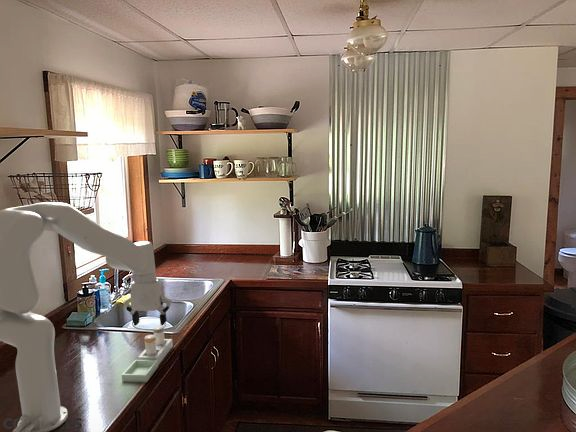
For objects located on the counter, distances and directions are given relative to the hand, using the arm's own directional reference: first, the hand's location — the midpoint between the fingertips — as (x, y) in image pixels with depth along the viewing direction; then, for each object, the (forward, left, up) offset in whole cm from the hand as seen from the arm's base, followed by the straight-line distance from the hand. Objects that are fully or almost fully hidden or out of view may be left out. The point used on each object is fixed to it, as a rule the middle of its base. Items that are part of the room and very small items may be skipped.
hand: (150, 323), depth 163 cm
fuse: (+7, 0, -14) cm, 16 cm away
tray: (-10, 0, -14) cm, 17 cm away
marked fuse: (-1, 0, -14) cm, 14 cm away
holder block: (+3, 0, -14) cm, 14 cm away
